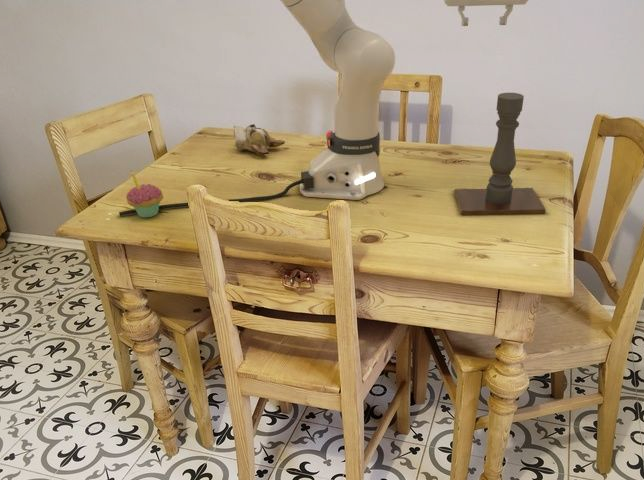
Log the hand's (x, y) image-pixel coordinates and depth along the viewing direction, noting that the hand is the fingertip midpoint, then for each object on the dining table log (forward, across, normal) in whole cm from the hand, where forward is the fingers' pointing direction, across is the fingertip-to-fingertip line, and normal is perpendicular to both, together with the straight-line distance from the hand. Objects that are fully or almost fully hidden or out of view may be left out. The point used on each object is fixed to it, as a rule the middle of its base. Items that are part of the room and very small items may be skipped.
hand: (483, 25), depth 150 cm
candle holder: (+36, +3, -24) cm, 44 cm away
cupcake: (+37, -84, -27) cm, 96 cm away
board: (+37, +3, -24) cm, 45 cm away
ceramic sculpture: (+37, -63, +16) cm, 75 cm away
